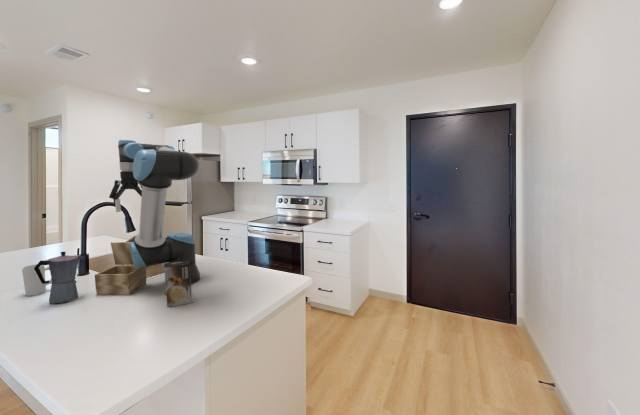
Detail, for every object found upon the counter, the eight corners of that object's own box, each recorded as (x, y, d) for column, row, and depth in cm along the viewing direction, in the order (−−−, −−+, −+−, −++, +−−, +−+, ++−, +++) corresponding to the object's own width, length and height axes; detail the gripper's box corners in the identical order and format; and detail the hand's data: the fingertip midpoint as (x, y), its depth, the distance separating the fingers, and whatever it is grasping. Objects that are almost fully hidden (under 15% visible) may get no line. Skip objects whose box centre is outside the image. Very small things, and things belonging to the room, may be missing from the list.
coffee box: (191, 297, 119) (189, 259, 117) (192, 302, 113) (190, 263, 111) (166, 301, 114) (164, 262, 113) (166, 307, 109) (163, 267, 107)
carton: (147, 284, 133) (146, 265, 132) (130, 294, 121) (129, 274, 120) (115, 284, 132) (113, 266, 131) (95, 295, 120) (93, 274, 120)
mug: (25, 297, 118) (22, 269, 117) (24, 293, 122) (21, 266, 121) (57, 290, 126) (55, 264, 124) (55, 286, 130) (53, 261, 129)
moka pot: (91, 294, 121) (87, 248, 119) (47, 310, 107) (42, 258, 105) (77, 291, 124) (73, 247, 122) (32, 306, 110) (26, 256, 108)
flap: (142, 264, 131) (153, 255, 140) (138, 242, 128) (149, 235, 137) (115, 264, 131) (127, 255, 139) (110, 242, 128) (123, 235, 136)
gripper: (157, 171, 148) (159, 211, 151) (109, 170, 148) (112, 210, 150) (149, 171, 141) (151, 213, 143) (98, 170, 140) (102, 212, 143)
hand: (131, 212), depth 147 cm, fingers open, 13 cm apart
